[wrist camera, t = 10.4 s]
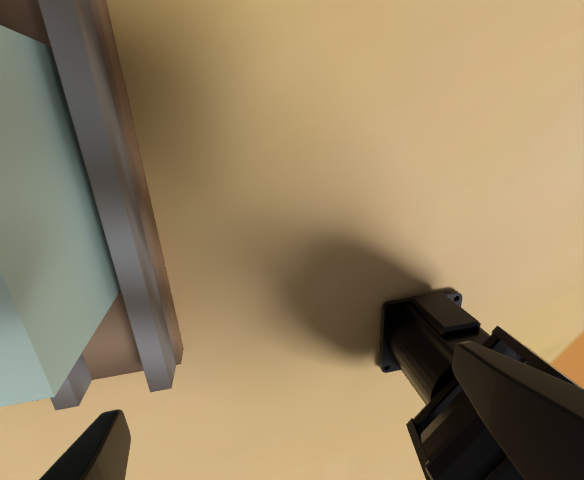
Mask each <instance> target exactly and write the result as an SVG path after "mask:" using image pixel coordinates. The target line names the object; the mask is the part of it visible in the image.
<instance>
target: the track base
mask: <svg viewBox="0 0 584 480" xmlns="http://www.w3.org/2000/svg"><path fill="white" fill-rule="evenodd" d="M0 25H1V26H4V27H6V28H8V29H11V30H13V31H15V32H18V33H20V34H22V35H25V36H27V37H29V38H32V39H34V40H36V41H39V42H41V43H43V44H46V45H48V46H50V47H52V51H53V54H54V58H55V61H56V65H57V68H58V72H59V75H60V79H61V82H62V86H63V89H64V93H65V96H66V100H67V103H68V107H69V110H70V114H71V117H72V121H73V124H74V127H75V131H76V134H77V138H78V141H79V145H80V148H81V152H82V155H83V159H84V162H85V166H86V169H87V173H88V176H89V180H90V183H91V187H92V190H93V194H94V197H95V201H96V204H97V208H98V211H99V215H100V218H101V222H102V225H103V229H104V232H105V236H106V239H107V243H108V246H109V250H110V253H111V257H112V260H113V264H114V267H115V271H116V274H117V278H118V281H119V285H120V288H121V290H120V292H119V293H118V295H117V297H116V298H115V300H114V301H113V303H112V305H111V306H110V308H109V310H108V311H107V313H106V314H105V316H104V318H103V319H102V321H101V322H100V324H99V326H98V327H97V329H96V331H95V332H94V334H93V335H92V337H91V339H90V340H89V342H88V344H87V345H86V347H85V348H84V350H83V352H82V353H81V355H80V356H79V358H78V360H77V361H76V363H75V365H74V366H73V368H72V369H71V371H70V373H69V374H68V376H67V378H66V379H65V381H64V382H63V384H62V386H61V387H60V389H59V390H58V392H57V394H56V395H55V397H51V398H50V399H51V401H52V403H53V406H54V408H55V410H60V409H65V408H70V407H76V406H79V404H80V402H81V400H82V398H83V396H84V395H85V393H86V391H87V389H88V387H89V385H90V383H91V381H92V380H94V379H100V378H105V377H111V376H117V375H122V374H128V373H133V372H139V371H144V372H145V376H146V379H147V383H148V386H149V390H150V392H154V391H160V390H165V389H170V388H172V383H173V378H174V373H175V368H176V365H178V364H181V360H182V355H183V344H182V340H181V335H180V331H179V327H178V322H177V318H176V313H175V309H174V304H173V300H172V295H171V291H170V286H169V282H168V277H167V273H166V268H165V264H164V259H163V255H162V250H161V246H160V241H159V237H158V232H157V228H156V223H155V219H154V214H153V210H152V205H151V201H150V196H149V192H148V187H147V183H146V178H145V174H144V170H143V165H142V161H141V156H140V152H139V147H138V143H137V138H136V134H135V129H134V125H133V120H132V116H131V111H130V107H129V102H128V98H127V93H126V89H125V84H124V80H123V75H122V71H121V66H120V62H119V57H118V53H117V48H116V44H115V39H114V35H113V30H112V26H111V21H110V17H109V13H108V8H107V4H106V0H0Z"/></svg>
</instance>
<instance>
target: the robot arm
mask: <svg viewBox="0 0 584 480" xmlns="http://www.w3.org/2000/svg"><path fill="white" fill-rule="evenodd" d="M455 296H456V297H455ZM454 297H455V298H454ZM461 303H462V295H461V294H460V293H459V292H458V291H449V292H443V293H442V292H439V293H433V294H427V295H421V296H415V297H412V298H406V299H400V300H394V301H388V302H386V303H385V304H384V305H383V307H382V322H381V342H380V362H379V366H380V368H381V370H382V371H383V372H384V373H387V372H392V371H397V370H402V372H403V373H404V374H405V376H406V377H407V379H408V380H409V381H410V383H411V384H412V386H413V387H414V388H415V390H416V391H417V393H418V394H419V395H420V397H421V398H422V400H423V401H424V403H425V404H426V406H425V407H424V408H423V409H422V410H421V411H420V412H419V413H418V414H417V415H416V417H415V418H414V419H413V418H412V419H411V420H410V421H409V422H408V423H407V424H406V425H407V428H408V431H409V434H410V436H411V439H412V442H413V445H414V448H415V450H416V453H417V456H418V459H419V461H420V464H421V467H422V470H423V472H424V475H425V478H426V480H584V389H583V388H581V387H580V386H579V385H578V384H576V383H575V382H573V381H572V380H571V379H570V378H568V377H567V376H566V375H564V374H563V373H562V372H560V371H559V370H557V369H556V368H555V367H553V366H552V365H551V364H549V363H548V362H547V361H545V360H544V359H543V358H541V357H540V356H539V355H537V354H536V353H535V352H533V351H532V350H530V349H529V348H528V347H526V346H525V345H523V344H522V343H521V342H519V341H518V340H517V339H515V338H514V337H512V336H511V335H510V334H508V333H507V332H505V331H504V330H503V329H501V328H500V327H499V326H497V327H496V328H495V329H494V330H493V331H492V335H491V336H490V335H489V334H488V333H487V332H485V331H484V330H483V329H482V328H480V325H481V324H480V322H479V321H477V320H476V319H475V318H474V317H472V316H471V315H470V314H469V313H467V312H466V311H465V310H464V309H462V308H461ZM390 307H391V309H389V308H390ZM388 309H389V310H388ZM385 366H386V367H385ZM130 443H131V436H130V431H129V428H128V425H127V422H126V419H125V416H124V413H123V411H122V410H119V409H118V410H113V411H108V412H104V413H102V414H101V415H100V416H99V417H98V418H97V419H96V420H95V421H94V422H93V423H92V424H91V425H90V426H89V427H88V428H87V429H86V430H85V431H84V433H83V434H82V435H81V436H80V437H79V438H78V439H77V440H76V441H75V442H74V443H73V444H72V445H71V446H70V447H69V448H68V449H67V451H66V452H65V453H64V454H63V455H62V456H61V457H60V458H59V459H58V460H57V461H56V462H55V463H54V464H53V465H52V466H51V467H50V469H49V470H48V471H47V472H46V473H45V474H44V475H43V476H42V477H41V478H40V479H39V480H125V475H126V469H127V462H128V456H129V449H130Z"/></svg>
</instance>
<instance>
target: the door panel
mask: <svg viewBox="0 0 584 480" xmlns="http://www.w3.org/2000/svg"><path fill="white" fill-rule="evenodd" d="M120 290H121V288H120V285H119V281H118V278H117V274H116V271H115V267H114V264H113V260H112V257H111V253H110V250H109V246H108V243H107V239H106V236H105V232H104V229H103V225H102V222H101V218H100V215H99V211H98V208H97V204H96V201H95V197H94V194H93V190H92V187H91V183H90V180H89V176H88V173H87V169H86V166H85V162H84V159H83V155H82V152H81V148H80V145H79V141H78V138H77V134H76V131H75V127H74V124H73V121H72V117H71V114H70V110H69V107H68V103H67V100H66V96H65V93H64V89H63V86H62V82H61V79H60V75H59V72H58V68H57V65H56V61H55V58H54V54H53V51H52V47H50V46H48V45H46V44H43V43H41V42H39V41H36V40H34V39H32V38H29V37H27V36H25V35H22V34H20V33H18V32H15V31H13V30H11V29H8V28H6V27H4V26H1V25H0V407H2V406H8V405H13V404H19V403H24V402H29V401H35V400H40V399H46V398H51V397H55V395H56V394H57V392H58V390H59V389H60V387H61V386H62V384H63V382H64V381H65V379H66V378H67V376H68V374H69V373H70V371H71V369H72V368H73V366H74V365H75V363H76V361H77V360H78V358H79V356H80V355H81V353H82V352H83V350H84V348H85V347H86V345H87V344H88V342H89V340H90V339H91V337H92V335H93V334H94V332H95V331H96V329H97V327H98V326H99V324H100V322H101V321H102V319H103V318H104V316H105V314H106V313H107V311H108V310H109V308H110V306H111V305H112V303H113V301H114V300H115V298H116V297H117V295H118V293H119V292H120Z"/></svg>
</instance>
